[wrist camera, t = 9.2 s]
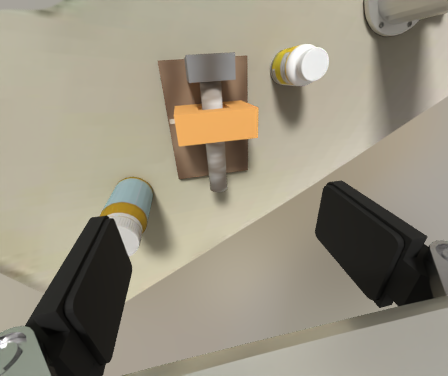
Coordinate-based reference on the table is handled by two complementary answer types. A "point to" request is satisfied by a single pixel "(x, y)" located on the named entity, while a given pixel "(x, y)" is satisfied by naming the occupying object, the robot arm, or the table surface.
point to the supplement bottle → (299, 65)
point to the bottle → (130, 210)
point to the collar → (215, 123)
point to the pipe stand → (210, 99)
